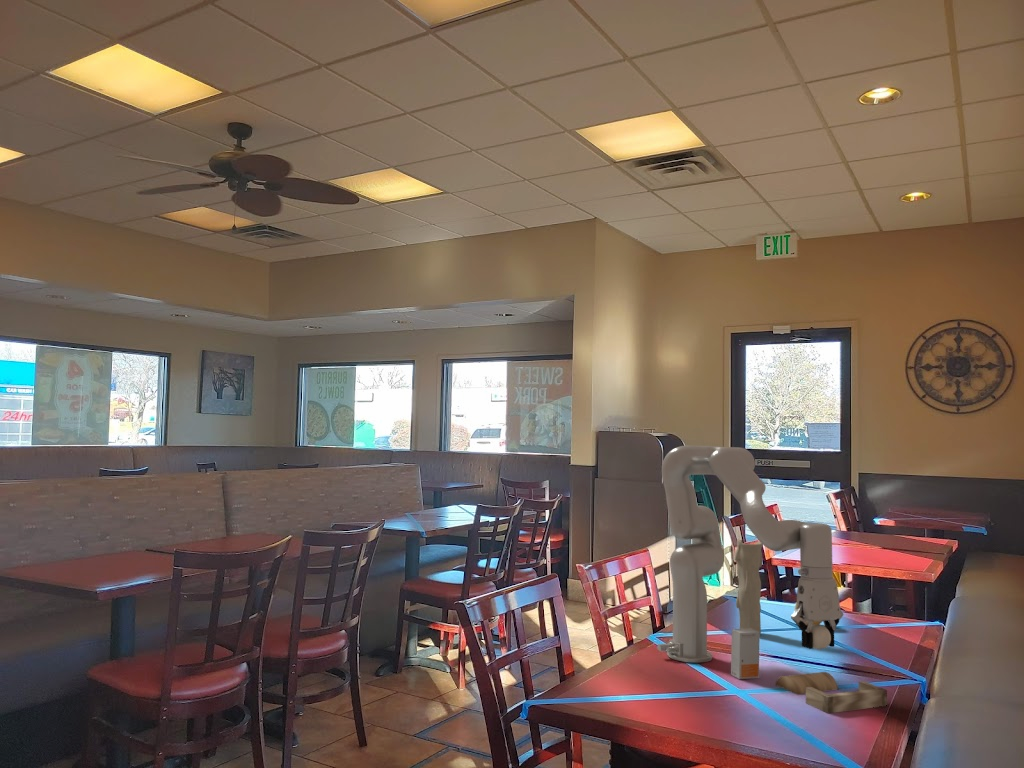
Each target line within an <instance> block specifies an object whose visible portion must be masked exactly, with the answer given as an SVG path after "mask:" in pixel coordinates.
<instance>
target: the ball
mask: <svg viewBox="0 0 1024 768" xmlns="http://www.w3.org/2000/svg"><path fill="white" fill-rule="evenodd" d="M810 632H812V634H813V648H812V649H815V650H824V649H827V647H829V646H828V645H829V644H830V642H831V634H830V632H829V630H828V629H827V628H826V627H825V625H824V624H821V623H820V624H814V625H812V627H811V631H810Z"/></svg>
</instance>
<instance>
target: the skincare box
mask: <svg viewBox="0 0 1024 768" xmlns="http://www.w3.org/2000/svg"><path fill="white" fill-rule="evenodd" d="M760 635H761V633H759V632H758V631H756V630H753V629H751V628H749V629H739V628H735V629H734V628H732V629H731V650H730V651H731V653H730V655H731V656H730V659H731V660H730V674H731V676H733V677H735V678H736V679H738V680H749V679H760Z"/></svg>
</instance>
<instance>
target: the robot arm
mask: <svg viewBox="0 0 1024 768" xmlns="http://www.w3.org/2000/svg"><path fill="white" fill-rule="evenodd" d="M755 467H756V461H755V458H754V456H753V454H752V453H751V452H750V451H749V450H748V449H746V448H744V447H738V446H737V447H734V446H731V447H730V446H728V447H726V446H716V445H715V446H714V445H713V446H712V445H691V444H690V445H681V446H677V447H675V448H672V449H671V450H669V452H668V453H666V455H665V457H664V459H663V460H662V464H661V477H662V484H663V487H664V490H665V498H666V505H667V506H666V507H667V514H668V521H669V528H670V530H671V531H670V532H671V533H672V535H673V536H674V537H675V538H676V539H679V540H683V541H685V540H692V543H689V544H683V545H681V546H678V547H676V548H675V549H674V550H673V552H672V553H671V555H670V558H669V566H670V574H671V581H672V638H670V639H669V641H668V642H667V643H659V644H657V646H656V647H657V651H659V652H666V655H667V657H669V658H670V659H672V660H675V661H679V662H683V663H692V664H693V663H695V664H698V663H707V662H710V661H712V660H713V653H711V651H708V592H707V587H706V584H705V581H704V578H703V577H709V576H713V575H716V574H718V573H719V572H720V570H721V569H722V568H723V564H724V550H723V545H722V538H721V530H720V524H719V520H718V518H717V515H716V514H715V512H714V511H713V510H712V509H711V508H709V507H708V506H705V505H698V502H697V501H698V500H697V495H696V490H695V489H696V488H695V487H694V484H693V482H692V481H691V479H690V478H689V477H690V476H691V475H692V476H694V475H695V476H696V475H697V476H700V475H701V476H702V475H703V476H704V475H705V476H706V475H711V476H712V475H713V476H716V477H717V478H718V479H719V481H720V482H721V483H722V484H723V485H724V486H725V488H726V489H727V490H728V491H729V492H730V494H731V495H732V496H733V497H734V499H736V500H737V502H738V503H739V505H740V511H741V514H742V516H743V517H742V518H743V520H744V522H745V525H746V526H747V528H748V529H749V530H750V532H752V534H753V535H754V536H755V538H757V540H758V542H761V543H762V544H763V546H764V547H765V548H766V549H769V550H770V551H773V552H784V551H790V550H791V551H792V550H796V549H799V553H800V554H799V555H800V561H799V562H800V568H799V569H797V573H798V575H800V578H799V579H798V583H797V589H796V590H797V591H796V603H797V608H796V610H795V609H794V611H793V613H792V614H791V616H790V619H791V620H792V621H793V622H794V623H795V625H796V626H797V627H798V628H799V629H798V630H799V631H801V646H802V647H803V648H807V649H809V650H812V649H814V648H813V634H812V632H810V631H811V627H812V624H813V621H823V622H822V623H823V626H824V627H826V628H827V629H828V630H829V632H830V634H831V642H830V644H829V645H828V646H827V647H832V648H834V647H835V631H836V630H837V626H838V625H839V624H840V621H841V619H842V618H843V616H844V612H843V610H842V609H841V607H840V606H841V604H840V595H839V594H840V593H839V589H838V583H837V580H836V579H835V578H834V575H833V574H834V573H833V572H834V571H833V568H834V567H833V532H832V531H833V530H832V528H831V526H830V525H829V524H826V523H823V522H822V523H821V522H820V523H819V522H804V521H800V520H796V519H786V520H783V519H782V520H777V519H776V517H775V516H774V514H772V513H771V512H770V511H769V509H768V508H767V506H766V505H765V502H764V500H763V495H764V494H765V492H766V484H765V483H764V481H763V480H762V479H761V478H760V477H759V476H758V475H757V474H756V473H755V470H754V469H755ZM800 618H802V619H800ZM806 621H807V625H806Z"/></svg>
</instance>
